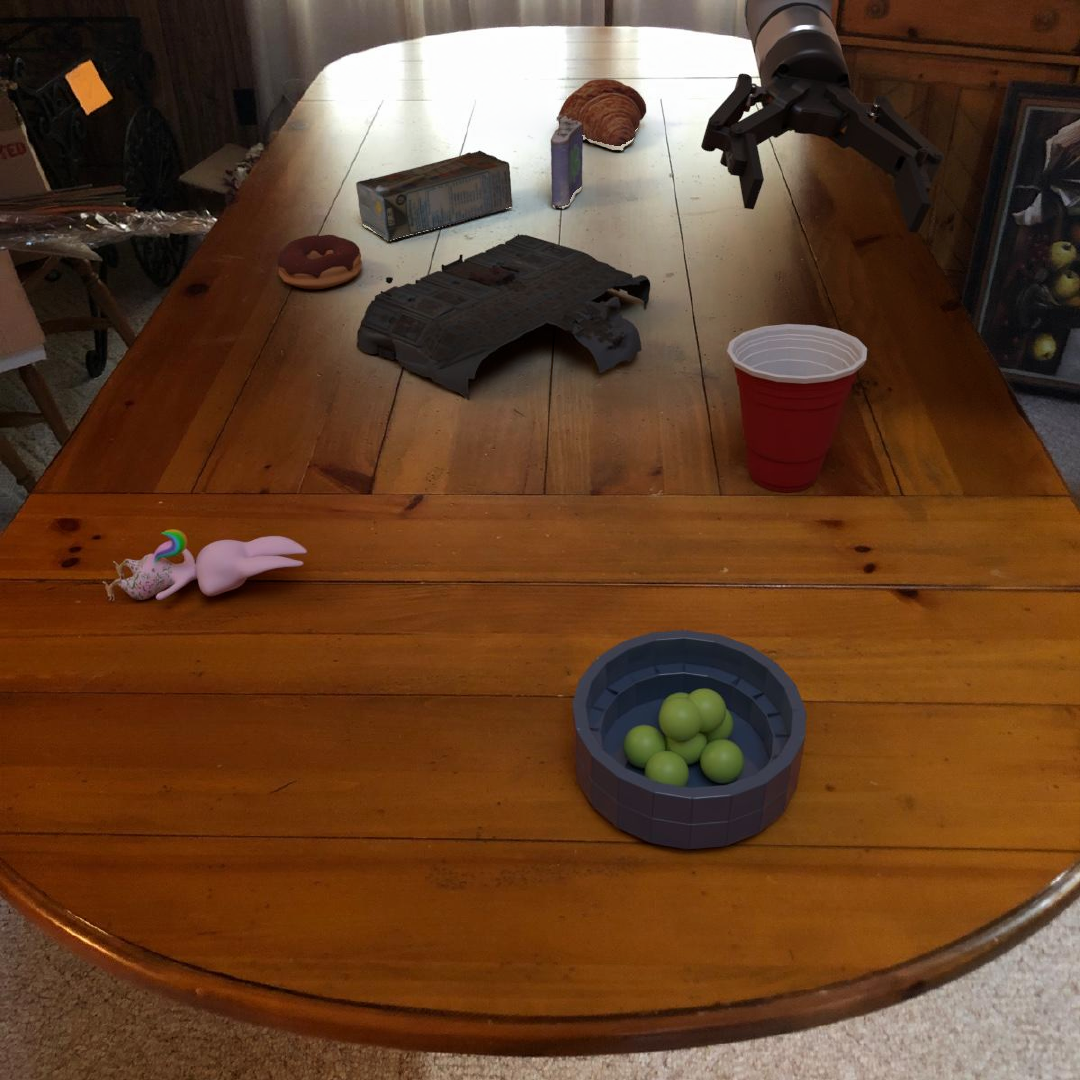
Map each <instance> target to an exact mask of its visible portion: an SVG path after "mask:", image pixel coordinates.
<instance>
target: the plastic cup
mask: <svg viewBox="0 0 1080 1080" xmlns="http://www.w3.org/2000/svg"><path fill="white" fill-rule="evenodd" d="M726 353H727V357H728V358H729V360H730V361H731V362H732V366H733V368H734V373H735V376H736V384H737V386H738V394H739V404H740V413H741V414H740V415H741V423H742V424H741V425H742V433H743V441H744V442H745V455H746V467H747V469H748V473H749V476H750V477H751V480H752V481H753V482H755V483H756V484H757V485H758V486H759V487H762V488H765V489H767V490H770V491H773V492H781V493H792V492H801V491H803V490H806V489H808V488H811V487H812V486H813V485H814V483H815V482H816V481H817V478H818V477H819V476H820V474H821V471H822V468H823V465H824V462H825V459H826V456H827V453H828V451H829V450H830V448H831V446H832V443H833V440H834V437H835V433H836V430H837V428H838V425H839V422H840V419H841V416H842V413H843V410H844V407H845V405H846V401H847V398H848V396H849V394H850V393H851V389H852V386H853V383H854V382H855V381H856V377H857V375H858V373H859V370H860V369H861V368H862V367H863V366H864V365H865V363H866V362H867V355H868V348H867V347H866V346H865V344H863V342H862V341H861V340H859V338H857V337H856V336H853V335H851V334H849V333H846V332H844V331H841V330H840V329H834V328H830V327H825V326H820V325H816V324H799V323H798V324H797V323H795V324H794V323H785V324H775V325H774V324H773V325H763V326H760V327H757V328H753V329H750V330H747V331H743V332H742V333H740V334H739V335H737V336H736V337H734V338H733V339H731V340H729V344H728V346H727V350H726Z"/></svg>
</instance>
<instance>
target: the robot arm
mask: <svg viewBox="0 0 1080 1080" xmlns="http://www.w3.org/2000/svg"><path fill="white" fill-rule="evenodd" d="M834 2H835V0H744V18H745V25H746V28H747V31H748V33H749V38H750V43H751V45H752V50H753V54H754V58H755V63H756V67H757V72H758V76H759V80H760V85H757V83H753V78H752V76H751V75H750V74H748V73H739V74H738V76H737V79H736V81H735V85H734V89H733V91H732V92H731V93H730V94H729V95H728V96H727V98H726V99H725V100H724V101H722V103H721V104H720V106H718V107H717V108H716V110H715V111H714V112H713V113H712V114H711V115H710V117H709V118H708V121H707V124H706V127H705V131H704V134H703V138H702V141H701V145H700V147H701V149H702V150H703V151H705V152H708V153H709V152H710V153H711V152H714V151H716V150H719V151H721V152H722V154H721V157H720V161H719V164H720V165H721V166H723V167H725V168H727V172H728V173H729V175H730V176H736V177H738V180H739V185H740V191H741V198H742V203H743V208H744V209H746V210H754V209H755V207H756V203H757V201H758V198H759V196H760V192H761V189H762V188H763V184H764V181H765V178H764V172H763V167H762V162H761V158H760V153H759V147H758V146H759V145H761V144H762V143H764V142H766V141H767V140H769V139H771V138H772V137H773V138H775V139H777V138H779V137H780V136H782V135H783V134H785V133H787V132H792V131H794V133H796V134H800V135H801V134H802V135H813V136H818V137H822V138H827V139H828V140H829V141H831V142H833V143H834V144H836V145H837V146H839V147H840V148H842V149H846V148H847V149H848V148H851V149H852V150H853V151H855V152H857V154H859V155H861V156H863V158H865V159H867V160H868V161H870V162H871V163H873V164H874V165H876V166H877V167H878V168H880V169H882V171H884V172H886V173H887V174H889V175H890V176H892V177H893V178H894V179H895V180H894V182H893V185H892V186H893V190H894V192H895V196H896V198H897V201H898V202H897V203H898V204H899V208H900V211H901V215H902V217H903V221H904V223H905V226H906V229H907V232H909V233H914V234H918V232H919V230H920V228H921V226H922V224H923V222H924V220H925V218H926V217H927V214H928V213H929V210H930V208H931V206H932V202H931V198H930V196H929V193H930V190H931V189H932V184H933V182H934V180H935V178H936V176H937V175H938V172H939V170H940V168H941V166H942V164H943V161H944V160H945V155H944V154H943V152H941V150H939V149H938V148H937V147H936V146H935V145H934V144H933V143H932V142H930V141H929V140H928V138H926V137H925V136H924V135H923V134H922V133H920V131H918V130H917V129H916V128H915V127H914V126H913V125H912V124H911V123H910V122H908V121H907V119H905V118H904V117H903V116H902V115H901V114H900V113H898V112H897V111H896V110H895V108H894V106H893V105H892V102H891V100H890V99H889V98H888V97H886V96H885V95H880V94H879V95H878V94H877V95H876V96H875V98H874V100H873V103H872V102H871V103H870V102H860V100H859V99H858V98H857V96H856V95H854V94H853V93H852V91H851V78H850V72H849V68H848V66H847V63H846V59H845V56H844V54H843V49H842V45H841V43H840V39H839V37H838V34H837V31H836V29H835V25H834V24H835V23H834V22H833V19H832V8H833V5H834ZM759 103H760V104H761V108H760V109H759V110H756V111H755V112H753V113H751V114H750V115H748V116H746V117H744V118H743V116H744V113H749V112H751V107H754V106H756V105H757V104H759ZM742 118H743V119H742ZM843 129H845V130H844V132H843V131H842V130H843Z"/></svg>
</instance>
